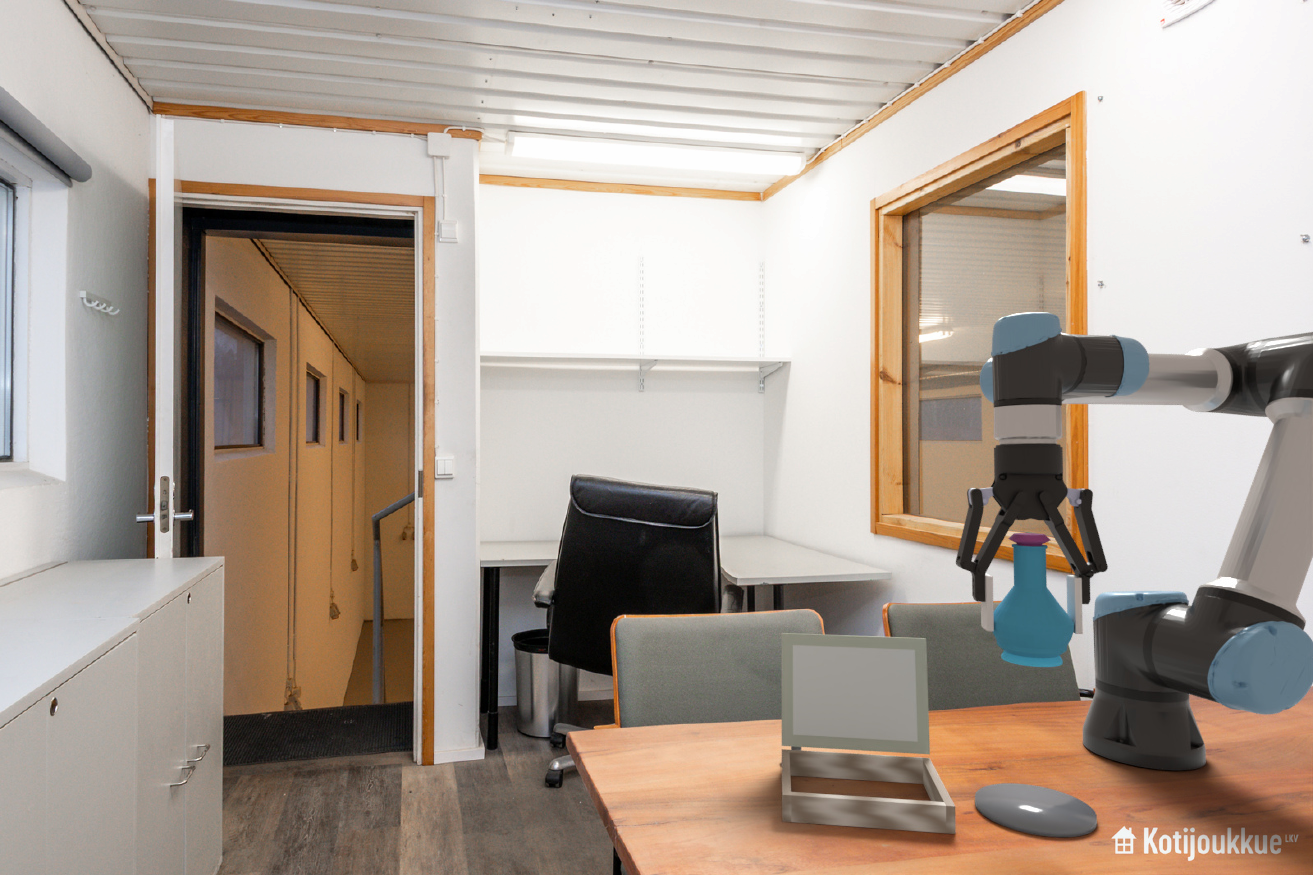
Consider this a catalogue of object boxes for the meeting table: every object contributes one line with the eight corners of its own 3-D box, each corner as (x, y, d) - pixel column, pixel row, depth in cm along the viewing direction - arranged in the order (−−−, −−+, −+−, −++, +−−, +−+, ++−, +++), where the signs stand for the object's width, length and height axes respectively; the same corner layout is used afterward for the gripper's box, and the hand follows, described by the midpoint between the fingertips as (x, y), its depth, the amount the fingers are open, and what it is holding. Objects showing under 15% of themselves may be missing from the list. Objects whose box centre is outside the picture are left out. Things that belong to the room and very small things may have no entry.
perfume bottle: (1086, 671, 89) (1083, 538, 89) (998, 667, 91) (996, 536, 91) (1061, 653, 98) (1059, 531, 98) (982, 649, 100) (980, 530, 100)
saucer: (1072, 793, 99) (1072, 787, 99) (1116, 841, 86) (1116, 834, 86) (963, 786, 101) (963, 780, 101) (991, 832, 88) (991, 825, 88)
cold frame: (929, 781, 102) (929, 758, 103) (955, 834, 88) (955, 806, 88) (781, 772, 105) (781, 749, 105) (782, 821, 91) (782, 794, 91)
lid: (930, 754, 102) (928, 753, 103) (926, 638, 105) (925, 638, 106) (781, 745, 105) (781, 744, 106) (781, 633, 108) (781, 632, 108)
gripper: (1112, 443, 97) (1116, 627, 96) (927, 444, 101) (929, 621, 100) (1139, 441, 90) (1144, 640, 89) (939, 442, 93) (941, 633, 92)
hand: (1030, 630), depth 94 cm, fingers closed on perfume bottle, 9 cm apart
